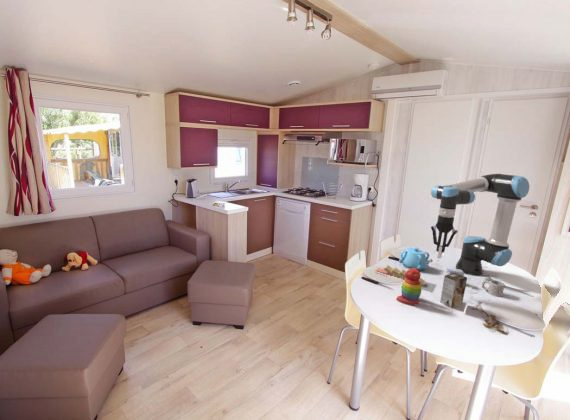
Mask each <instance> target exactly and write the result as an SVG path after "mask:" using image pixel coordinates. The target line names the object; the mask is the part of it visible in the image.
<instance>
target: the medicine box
mask: <svg viewBox="0 0 570 420" xmlns="http://www.w3.org/2000/svg"><path fill="white" fill-rule="evenodd" d="M453 273H457V274H460V275H462V276H465V273H464V272H463V271H462V270H460V269H456V268H446V273H445V275H449V274H453Z"/></svg>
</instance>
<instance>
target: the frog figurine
mask: <svg viewBox="0 0 570 420" xmlns="http://www.w3.org/2000/svg"><path fill="white" fill-rule="evenodd" d="M482 323H483V324H482V325H483V328H484V329H487V331H489V332H491V333H498V334H499V335H500V334H501V335H504V336H507V335H508V334H509V328H508V327H506V326H505V325H502V324H501V323H500V321H498V320H497V319H496V315H494V314H489V315H488V317H486V318H484V319H483V322H482ZM501 326H503V327H501ZM489 328H490V329H489ZM504 328H505V329H506V330H504Z"/></svg>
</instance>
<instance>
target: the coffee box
mask: <svg viewBox="0 0 570 420" xmlns="http://www.w3.org/2000/svg"><path fill="white" fill-rule="evenodd" d="M467 280H468V277H467V276H465V275H463V276H462V275H460V274H457V273H453V274H449V275H446V274H445V275H444V277H443V283H442V290H441V295H440V300H439V302H440V303H441V304H442V305H444V306H446V307H447V308H450V309H453V308H456V307H459V306H463V302H464V296H465V291H466V286H467Z"/></svg>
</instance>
